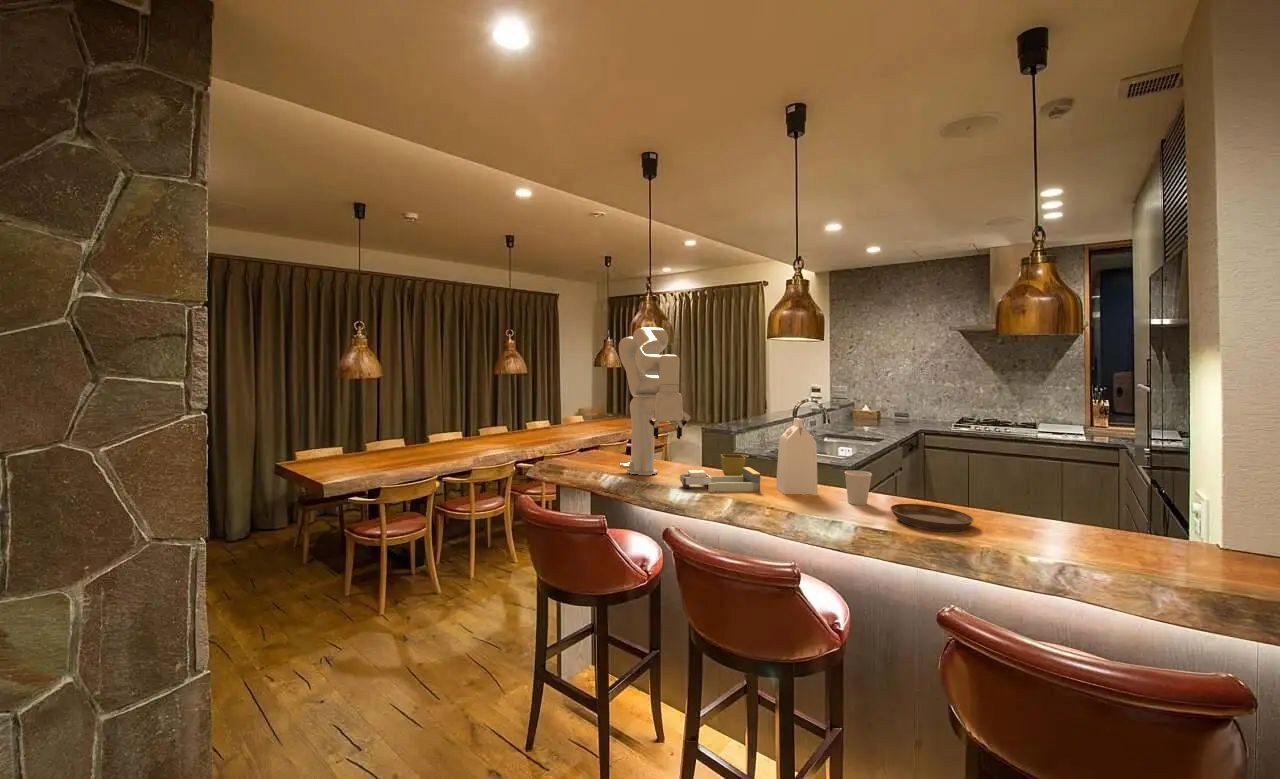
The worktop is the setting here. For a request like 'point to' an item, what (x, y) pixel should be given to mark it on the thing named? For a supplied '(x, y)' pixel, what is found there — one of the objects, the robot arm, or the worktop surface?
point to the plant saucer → (931, 517)
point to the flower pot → (732, 464)
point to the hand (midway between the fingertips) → (667, 438)
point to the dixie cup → (857, 486)
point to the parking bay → (736, 482)
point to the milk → (797, 461)
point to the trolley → (695, 478)
